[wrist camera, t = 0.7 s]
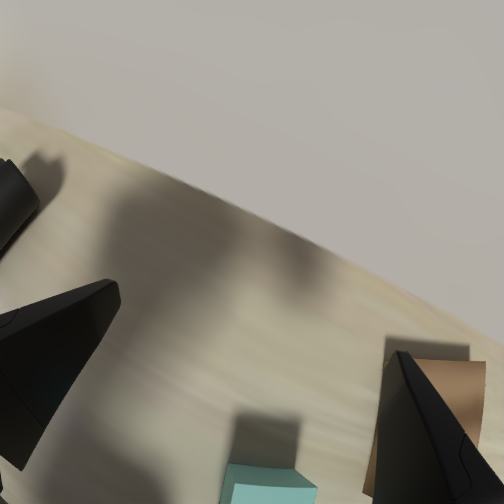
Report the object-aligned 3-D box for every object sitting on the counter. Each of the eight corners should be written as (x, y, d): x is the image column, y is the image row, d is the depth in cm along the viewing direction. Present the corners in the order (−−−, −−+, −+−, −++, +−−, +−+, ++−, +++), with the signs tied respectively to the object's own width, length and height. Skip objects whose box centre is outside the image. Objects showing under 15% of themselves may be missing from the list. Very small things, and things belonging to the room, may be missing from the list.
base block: (452, 472, 18) (472, 474, 15) (359, 491, 17) (377, 500, 14) (465, 366, 23) (485, 361, 20) (380, 362, 22) (400, 357, 20)
